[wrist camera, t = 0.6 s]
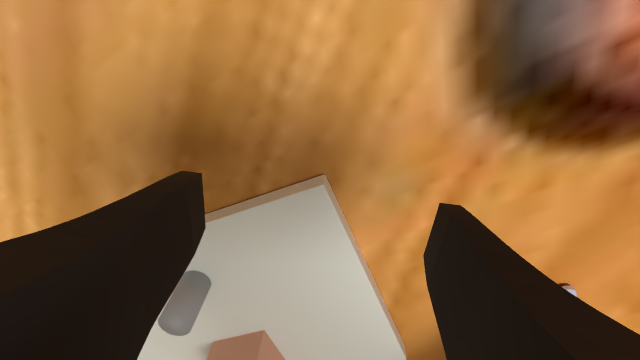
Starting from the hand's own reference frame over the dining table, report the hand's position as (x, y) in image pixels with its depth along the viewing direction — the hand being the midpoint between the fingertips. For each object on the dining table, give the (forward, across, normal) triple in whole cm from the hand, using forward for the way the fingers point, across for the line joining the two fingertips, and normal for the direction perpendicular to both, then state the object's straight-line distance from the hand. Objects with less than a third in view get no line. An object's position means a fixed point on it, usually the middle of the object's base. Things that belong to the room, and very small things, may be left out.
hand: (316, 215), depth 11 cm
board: (+9, +6, +16) cm, 19 cm away
